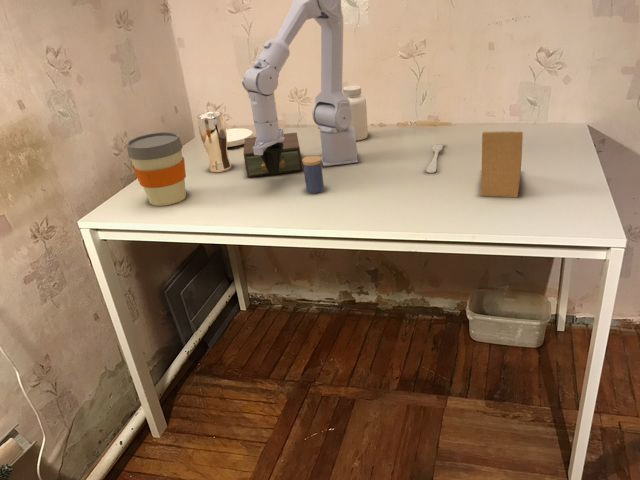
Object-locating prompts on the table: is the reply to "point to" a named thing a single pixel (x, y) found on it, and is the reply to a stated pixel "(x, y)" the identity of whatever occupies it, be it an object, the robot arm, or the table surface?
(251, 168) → the drawer
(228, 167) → the beer glass
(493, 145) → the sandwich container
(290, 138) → the cabinet
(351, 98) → the pill bottle
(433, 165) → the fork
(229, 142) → the plastic lid
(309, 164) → the jar
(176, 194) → the reusable coffee cup
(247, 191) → the table surface
